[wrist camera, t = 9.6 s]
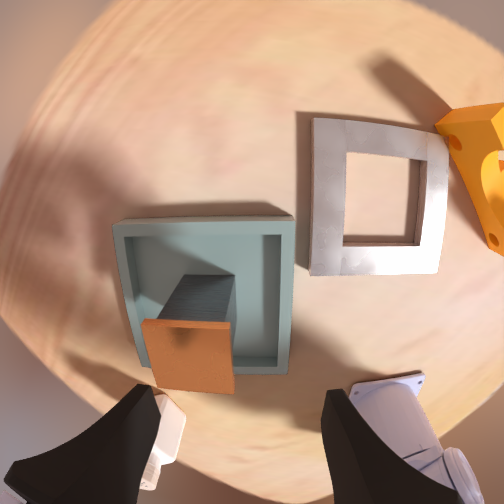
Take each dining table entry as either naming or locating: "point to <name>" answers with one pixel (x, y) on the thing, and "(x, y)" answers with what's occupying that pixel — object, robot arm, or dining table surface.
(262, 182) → the dining table surface
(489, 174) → the pipe clamp
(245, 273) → the tray
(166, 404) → the pepper shaker
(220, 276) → the pin
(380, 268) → the socket
